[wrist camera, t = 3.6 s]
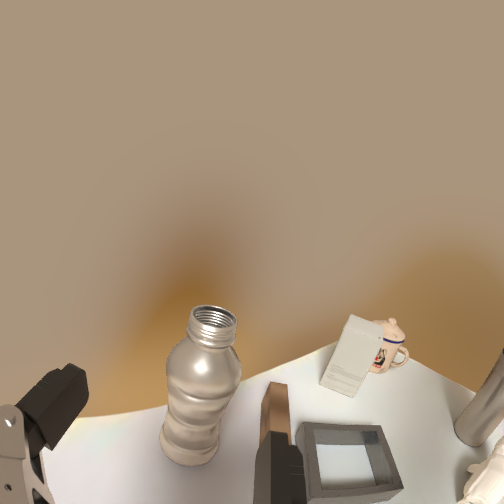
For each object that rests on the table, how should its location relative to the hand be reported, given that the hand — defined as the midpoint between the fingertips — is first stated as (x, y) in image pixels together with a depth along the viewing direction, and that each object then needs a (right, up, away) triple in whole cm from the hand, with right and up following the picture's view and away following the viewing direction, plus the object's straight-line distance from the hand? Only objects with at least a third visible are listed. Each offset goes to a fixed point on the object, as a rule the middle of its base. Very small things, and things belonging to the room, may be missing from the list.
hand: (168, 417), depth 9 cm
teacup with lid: (+31, -19, +44) cm, 57 cm away
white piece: (+39, -31, +7) cm, 50 cm away
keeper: (+15, -22, +16) cm, 31 cm away
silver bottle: (-4, -17, +16) cm, 24 cm away
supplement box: (+20, -18, +37) cm, 46 cm away
